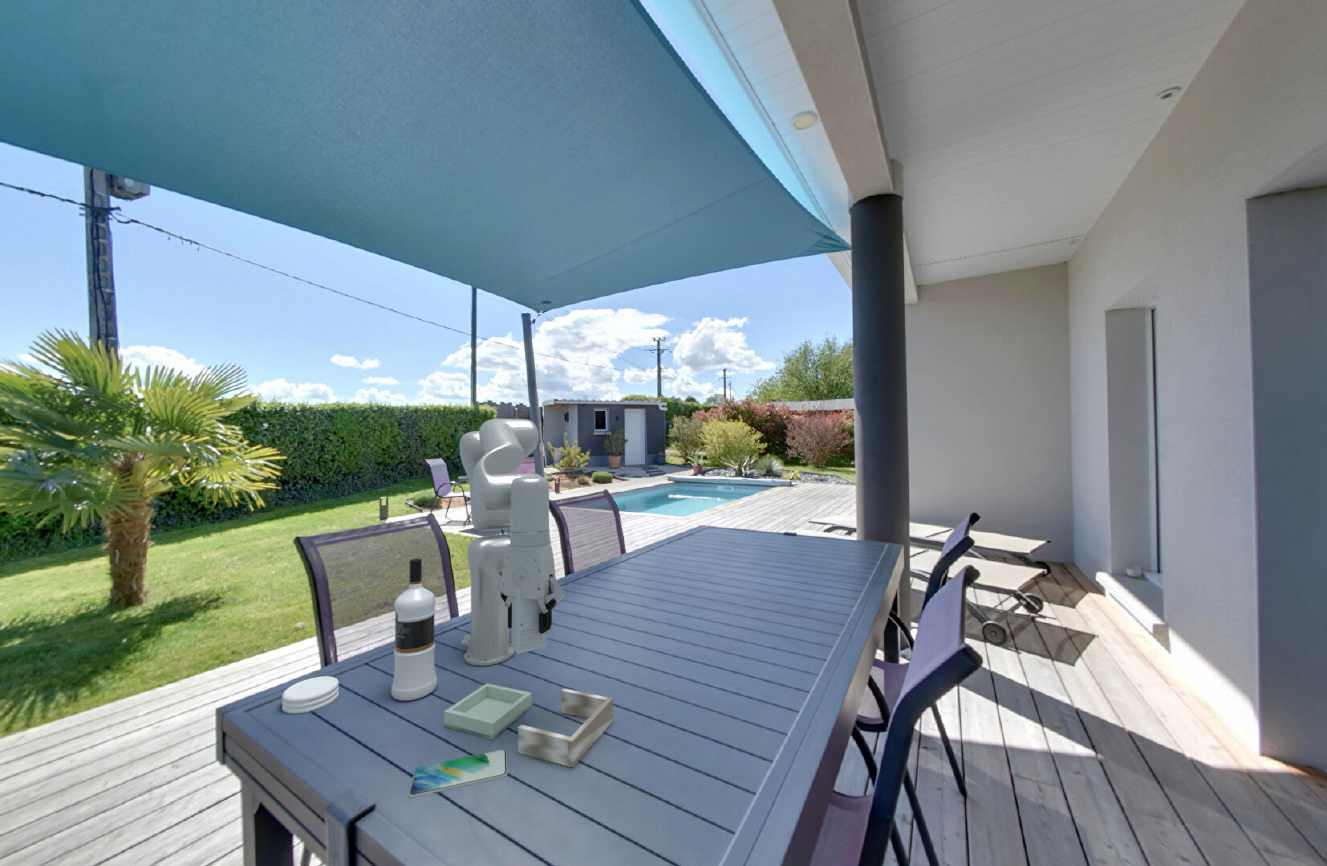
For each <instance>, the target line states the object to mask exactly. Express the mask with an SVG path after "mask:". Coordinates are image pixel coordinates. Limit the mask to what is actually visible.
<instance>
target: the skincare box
mask: <svg viewBox="0 0 1327 866" xmlns="http://www.w3.org/2000/svg"><path fill="white" fill-rule="evenodd" d="M516 596H517V597H516V598H513V597H512V628H511V644H512V645H511V646H512V648H513V649H514V650H515V653H516V654H517V655H519V654H523V653H528V652H532V651H537V650H541V649H544V648H547V643H548V641H547V640H548V639H547V638H548V633H547V632H548V631H546V632H545V633H543V634H540V633H539V613H541V612H542V611H541V608H540V605H539V603H538V601H536V600H527V599H523V598H522V591H521V590H517V595H516ZM544 599H545V598H544ZM545 602H546V600H545ZM546 604H547V603H546Z"/></svg>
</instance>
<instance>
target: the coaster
mask: <svg viewBox="0 0 1327 866" xmlns="http://www.w3.org/2000/svg"><path fill="white" fill-rule="evenodd" d="M339 684H340V682H339V680H338V679H337V678H336V677H333V676H327V675H325V676H324V675H323V676H317V677H311V678H308V679H307V678H306V679H305V680H301V681H299V682H296V683H294V684H293V685H290V686H289V687H288V688H286V689H285V690H284V692H283V693H282V695H281V699H282V700H281V703H282V705H281V709H282V711H283V712H284V713H287V714H292V715H293V714H294V715H295V714H297V715H298V714H304V713H310V712H313V711H316V710H319V709H321V708H324V707H326V706H328V705H330V704H331V703H332V702H335V700H336V699H337V698H338V697H339V694H340V693H339Z"/></svg>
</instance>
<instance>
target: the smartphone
mask: <svg viewBox="0 0 1327 866" xmlns="http://www.w3.org/2000/svg"><path fill="white" fill-rule="evenodd" d="M507 754H508V753H507V750H506V749H503V748H502V749H498V750H492V751H488V752H482V753H477V754H473V755H468V756H463V757H459V758H454V759H448V760H444V761H439V762H435V763H430V764H429V763H428V764H423V765H420V766H417V767H416V768H415V769H414V771H413V777H412V780H411V784H410V788H409V792H408V797H409V798H410V799H414V798H418V797H422V796H427V795H431V793H432V794H435V793H434V792H436V793H440V792H445V791H448V790H453V789H458V787H459V788H463V787H464V786H463V785H468V784H472V785H476V784H480V782H481V783H485V782H489V780H490V781H493V780H499V779H503V778H505V777H507V776H508V755H507ZM484 781H485V782H484ZM462 786H463V787H462ZM468 786H469V785H468Z"/></svg>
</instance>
